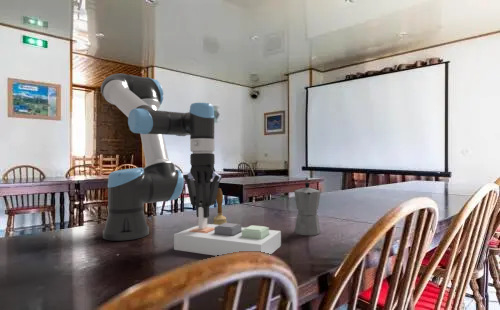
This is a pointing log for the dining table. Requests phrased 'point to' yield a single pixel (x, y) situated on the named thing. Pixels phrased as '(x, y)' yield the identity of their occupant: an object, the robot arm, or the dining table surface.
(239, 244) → the white button panel
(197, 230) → the terracotta key
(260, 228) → the sage key
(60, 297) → the dining table surface
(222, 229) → the charcoal key
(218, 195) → the hand bell
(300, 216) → the coffeepot
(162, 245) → the dining table surface
